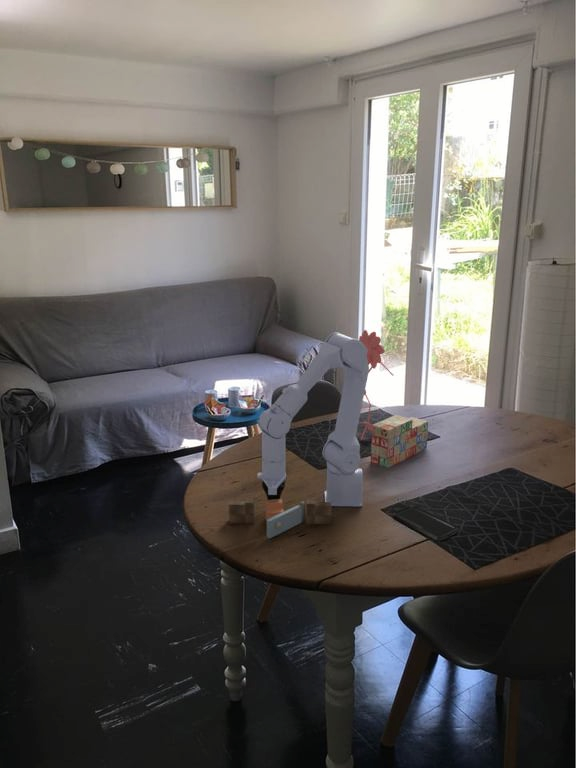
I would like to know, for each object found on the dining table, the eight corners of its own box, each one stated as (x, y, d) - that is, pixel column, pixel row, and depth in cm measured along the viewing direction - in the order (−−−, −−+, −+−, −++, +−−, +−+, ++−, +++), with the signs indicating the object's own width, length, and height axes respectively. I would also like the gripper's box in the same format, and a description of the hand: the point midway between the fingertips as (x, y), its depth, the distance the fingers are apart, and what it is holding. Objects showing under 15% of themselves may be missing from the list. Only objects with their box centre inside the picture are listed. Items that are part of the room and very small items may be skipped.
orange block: (281, 516, 158) (281, 498, 157) (285, 528, 153) (285, 510, 151) (265, 518, 157) (265, 500, 156) (269, 530, 152) (269, 511, 150)
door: (301, 519, 157) (302, 501, 155) (307, 522, 155) (308, 503, 154) (266, 537, 148) (265, 518, 147) (271, 540, 147) (271, 521, 146)
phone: (412, 504, 163) (460, 528, 152) (412, 508, 163) (459, 532, 152) (391, 513, 158) (438, 538, 147) (390, 517, 159) (438, 542, 147)
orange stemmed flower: (376, 449, 200) (383, 340, 191) (325, 425, 220) (329, 326, 211) (411, 439, 209) (419, 335, 199) (358, 418, 229) (363, 322, 219)
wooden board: (330, 520, 156) (331, 500, 155) (331, 524, 155) (331, 504, 153) (230, 519, 157) (229, 499, 155) (229, 523, 155) (228, 502, 153)
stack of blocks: (410, 443, 205) (412, 407, 202) (427, 448, 201) (429, 412, 198) (370, 462, 191) (371, 424, 187) (387, 468, 186) (389, 429, 183)
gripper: (259, 446, 161) (259, 494, 165) (255, 470, 148) (255, 522, 151) (286, 446, 161) (286, 495, 165) (285, 470, 147) (285, 522, 151)
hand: (273, 508), depth 158 cm, fingers closed
